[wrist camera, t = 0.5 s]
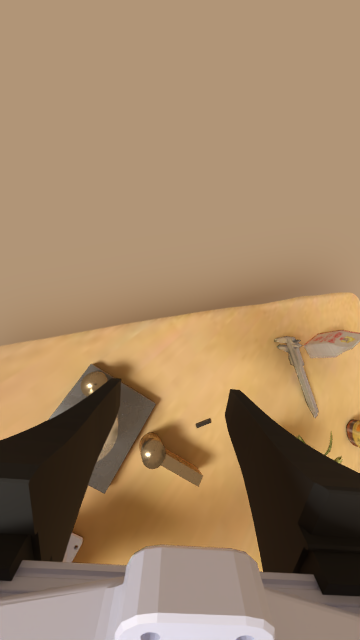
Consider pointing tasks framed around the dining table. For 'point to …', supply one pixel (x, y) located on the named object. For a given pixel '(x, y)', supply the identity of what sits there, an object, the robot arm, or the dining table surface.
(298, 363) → the caliper
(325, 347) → the paper snack bag
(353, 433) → the sauce bottle
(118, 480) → the dining table surface
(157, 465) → the ball-topped bar
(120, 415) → the levelling base
